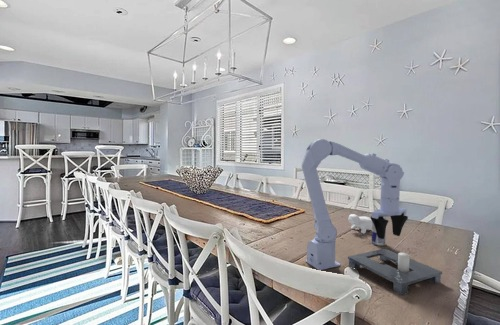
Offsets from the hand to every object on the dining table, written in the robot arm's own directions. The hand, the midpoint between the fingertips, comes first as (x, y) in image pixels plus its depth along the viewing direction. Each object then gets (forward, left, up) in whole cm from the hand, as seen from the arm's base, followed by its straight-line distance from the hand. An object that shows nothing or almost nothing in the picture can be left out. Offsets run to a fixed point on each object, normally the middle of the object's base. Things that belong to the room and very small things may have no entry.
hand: (388, 236), depth 90 cm
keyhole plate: (-4, -5, -10) cm, 12 cm away
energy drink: (+15, +16, -11) cm, 25 cm away
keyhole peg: (-4, -9, -10) cm, 14 cm away
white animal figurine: (+23, +33, -11) cm, 41 cm away
